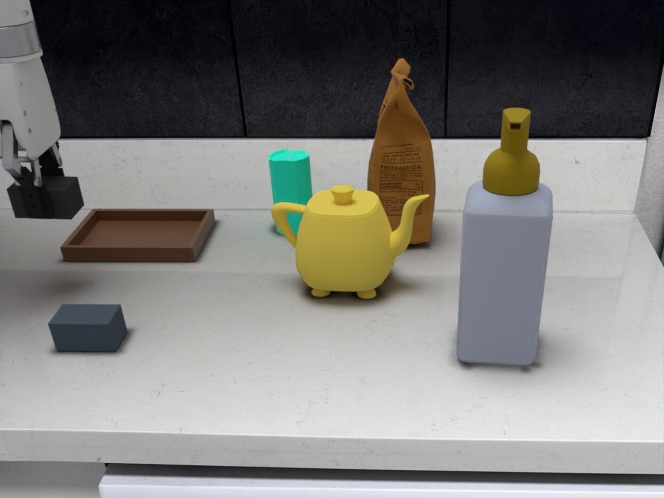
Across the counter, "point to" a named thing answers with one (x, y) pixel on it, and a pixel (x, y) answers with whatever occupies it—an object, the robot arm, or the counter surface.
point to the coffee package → (403, 158)
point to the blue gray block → (88, 327)
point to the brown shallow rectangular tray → (139, 235)
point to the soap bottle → (504, 253)
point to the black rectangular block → (53, 197)
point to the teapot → (345, 239)
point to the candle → (291, 181)
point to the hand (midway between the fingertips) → (49, 207)
